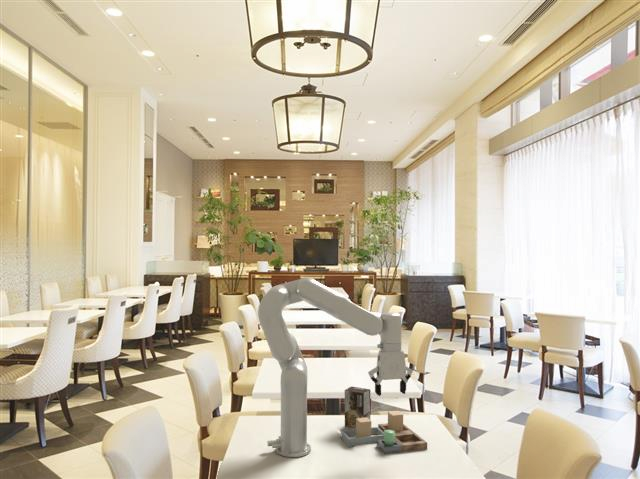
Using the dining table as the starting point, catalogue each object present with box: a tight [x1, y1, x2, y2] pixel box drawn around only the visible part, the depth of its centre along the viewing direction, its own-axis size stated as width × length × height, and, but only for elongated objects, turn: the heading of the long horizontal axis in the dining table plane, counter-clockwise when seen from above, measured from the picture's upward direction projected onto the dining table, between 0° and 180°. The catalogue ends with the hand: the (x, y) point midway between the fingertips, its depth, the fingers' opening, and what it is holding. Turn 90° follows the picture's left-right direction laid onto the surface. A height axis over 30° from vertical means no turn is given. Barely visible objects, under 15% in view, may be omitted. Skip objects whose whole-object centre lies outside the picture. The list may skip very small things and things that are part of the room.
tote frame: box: [340, 426, 384, 448], centre depth 187 cm, size 15×9×3 cm, turn 106°
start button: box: [384, 430, 395, 446], centre depth 177 cm, size 4×4×5 cm
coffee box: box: [344, 386, 371, 430], centre depth 199 cm, size 9×6×16 cm
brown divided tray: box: [377, 422, 428, 453], centre depth 187 cm, size 10×22×3 cm, turn 16°
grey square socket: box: [376, 439, 403, 455], centre depth 177 cm, size 7×7×3 cm
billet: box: [355, 417, 372, 438], centre depth 187 cm, size 4×4×8 cm
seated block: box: [387, 410, 404, 432], centre depth 192 cm, size 4×4×8 cm
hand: (390, 393), depth 178 cm, fingers open, 9 cm apart
